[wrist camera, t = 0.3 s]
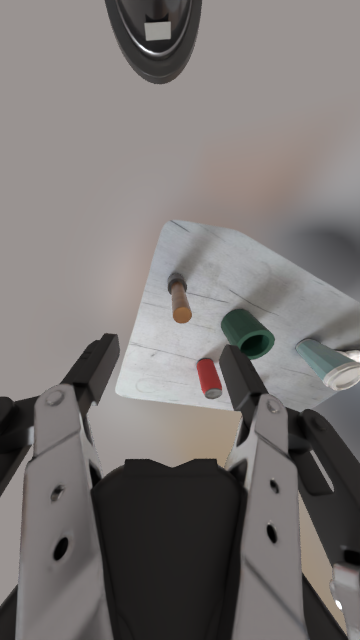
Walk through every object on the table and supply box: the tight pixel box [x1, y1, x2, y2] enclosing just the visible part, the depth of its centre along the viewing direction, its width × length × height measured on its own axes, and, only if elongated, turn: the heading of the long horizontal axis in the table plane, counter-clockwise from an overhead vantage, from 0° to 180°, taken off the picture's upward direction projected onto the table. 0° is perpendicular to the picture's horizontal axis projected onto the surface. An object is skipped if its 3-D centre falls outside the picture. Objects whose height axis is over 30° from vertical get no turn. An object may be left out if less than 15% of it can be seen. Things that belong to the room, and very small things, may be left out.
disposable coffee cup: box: [296, 339, 360, 390], centre depth 45 cm, size 11×11×15 cm
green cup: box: [221, 309, 275, 360], centre depth 39 cm, size 10×10×11 cm
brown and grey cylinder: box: [168, 273, 192, 323], centre depth 27 cm, size 4×4×18 cm
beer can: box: [197, 359, 222, 399], centre depth 47 cm, size 7×7×12 cm
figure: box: [337, 350, 360, 363], centre depth 53 cm, size 11×7×20 cm
